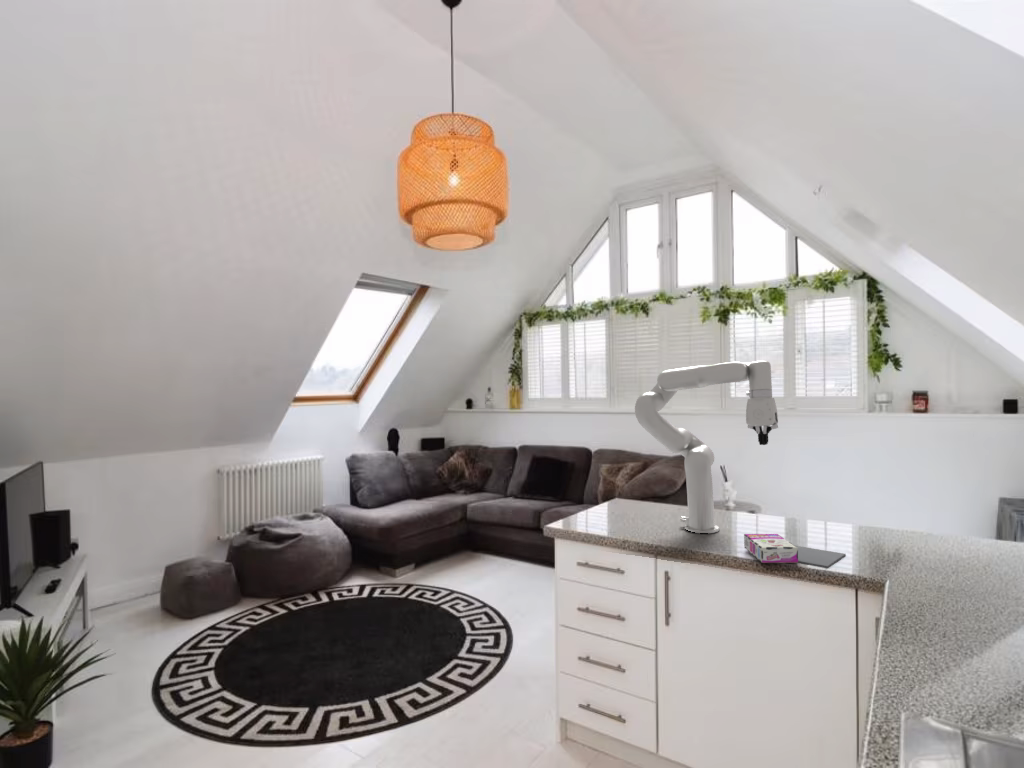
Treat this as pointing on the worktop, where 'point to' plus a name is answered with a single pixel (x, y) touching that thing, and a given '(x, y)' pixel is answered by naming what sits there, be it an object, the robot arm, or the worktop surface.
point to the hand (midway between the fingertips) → (763, 444)
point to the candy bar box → (771, 548)
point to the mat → (818, 556)
